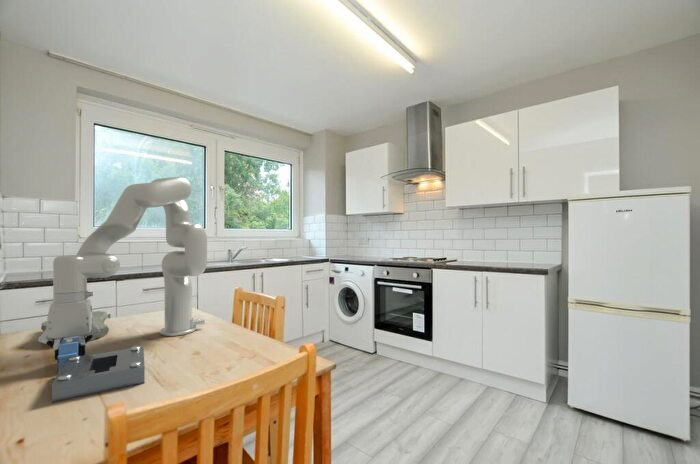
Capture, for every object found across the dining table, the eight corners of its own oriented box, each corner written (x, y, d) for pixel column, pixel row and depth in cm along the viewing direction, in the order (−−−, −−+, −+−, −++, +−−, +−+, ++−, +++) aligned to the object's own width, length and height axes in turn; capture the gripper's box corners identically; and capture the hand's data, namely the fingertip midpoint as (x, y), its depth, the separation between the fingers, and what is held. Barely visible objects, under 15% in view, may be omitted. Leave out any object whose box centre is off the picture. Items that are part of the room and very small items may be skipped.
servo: (81, 358, 102) (81, 331, 102) (76, 371, 93) (76, 341, 93) (65, 361, 100) (64, 333, 100) (57, 374, 90) (57, 343, 90)
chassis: (143, 360, 100) (143, 344, 100) (144, 383, 85) (144, 364, 85) (66, 374, 91) (66, 356, 91) (51, 402, 75) (51, 381, 75)
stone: (111, 325, 120) (36, 327, 108) (107, 348, 120) (32, 352, 108) (110, 307, 143) (49, 306, 131) (107, 326, 142) (45, 327, 130)
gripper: (106, 292, 104) (106, 350, 104) (35, 298, 95) (34, 362, 95) (104, 296, 98) (104, 358, 98) (27, 303, 89) (27, 371, 89)
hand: (70, 359), depth 96 cm, fingers closed on servo, 4 cm apart
